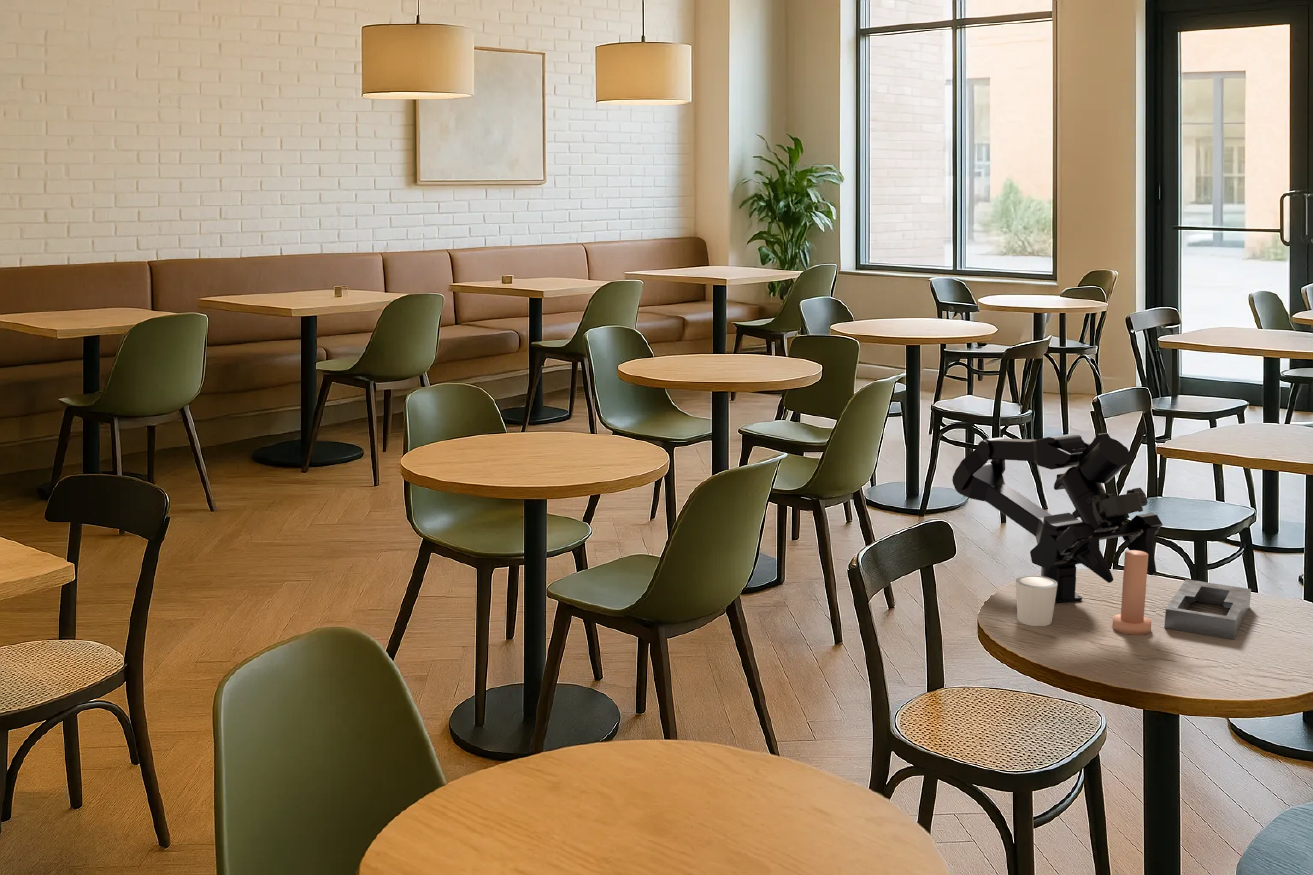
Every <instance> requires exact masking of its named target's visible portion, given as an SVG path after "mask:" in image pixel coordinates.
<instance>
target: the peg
mask: <svg viewBox="0 0 1313 875" xmlns="http://www.w3.org/2000/svg"><path fill="white" fill-rule="evenodd" d="M1123 561H1124V564H1123V578H1122V592H1121V607H1120V613H1119V614H1115V615H1114V616H1113V617H1112V624H1111V625H1112V626H1111V627H1112V629H1113V630H1114V631H1116V632H1118V633H1121V634H1125V635H1132V636H1140V635H1147V634H1148V635H1149V633H1151V631H1152V620H1151V619H1150V618H1149V617H1146V616H1145V607H1146V592H1147V581H1148V580H1147V578H1148V572H1147V566H1148V553H1146V552H1143V551H1137V550H1129V549H1128V550H1126V551H1124V560H1123Z"/></svg>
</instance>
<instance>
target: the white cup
mask: <svg viewBox="0 0 1313 875" xmlns="http://www.w3.org/2000/svg"><path fill="white" fill-rule="evenodd" d="M1057 585H1058V584H1057V581H1055V580H1054V579H1051V578H1048V577H1043V576H1041V575H1022V576H1018V577H1016V578H1015V592H1016V593H1015V594H1016V595H1015V596H1016V616H1017V621H1018V622H1019V623H1021V624H1024V625H1027V626H1032V627H1033V626H1034V627H1046V626H1049V625H1051V624H1052V622H1053V618H1054V617H1053V616H1054V611H1055V610H1054V609H1055V604H1056V602H1055V598H1056V591H1057Z"/></svg>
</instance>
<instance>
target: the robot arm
mask: <svg viewBox="0 0 1313 875" xmlns="http://www.w3.org/2000/svg"><path fill="white" fill-rule="evenodd" d="M988 461H990V462H988ZM1006 461H1020V462H1021V461H1023V462H1033V463H1035V464H1036V465H1037V466H1038V467H1042V468H1043V469H1044V468H1045V469H1048V470H1058V469H1059V470H1060V469H1066V468H1068V469H1067V470H1066V471H1064V473H1059V474H1057V475H1056V479H1055V482H1054V483H1053V489H1054V490H1055V491H1059V490H1064V491H1065V492H1066V494H1067V496H1068V498H1069V499H1070V501H1071V503H1072V505H1073V507H1074V508H1075V509H1074V510H1073V512H1072V513H1070V512H1063V513H1058V514H1051V513H1050V512H1048V511H1047V510H1045V509H1044V508H1042V507H1041V506H1039V505H1038V504H1037V503H1035V502H1033V501H1032V500H1031V499H1029V498H1027V497H1026V496H1024V495H1022V494H1021V493H1020V492H1019V491H1017V490H1016V489H1014V488H1012V487H1011V486H1009V485H1008V484H1007V483H1005V479H1004V478H1005V477H1004V475H1003V474H1004V473H1005V471H1006ZM1130 462H1131V453H1130V451H1129V449H1128V447H1127V446H1125V445H1124V444H1123V443H1121V442H1120V441H1118V440H1117V439H1114V438H1112V437H1111V436H1110V434H1109V433H1108V432H1105V433H1104V432H1103V433H1098V434H1097V435H1095V437H1094V438H1093V440H1092V442H1091V443H1089V442H1087V441H1085V440H1083V437H1082V435H1080V434H1076V433H1072V434H1063V435H1055V436H1047V437H1043V438H1038V439H1030V438H1029V439H1028V438H1027V439H1025V438H1023V439H1022V438H1021V439H1020V438H1004V437H1002V436H1001V437H992V438H984V439H982V440H980V441H979V443H977V445H976V447H975V448H974V450H972V451H971V452H970V453H969V454H968V455H966V456H965V457H964V458H963V459H961V461H960V463H959V464H958V466H957V467H956V469H955V470H954V473H953V475H952V479H951V480H952V486H953V487H954V489H955V491H956V492H957V493H958V494H959V495H961V496H964V497H966V498H968V499H970V500H976V501H981V502H986V503H987V504H989V505H990V506H992V507H993V508H995V509H996V510H997V511H999V512H1001V514H1003V515H1004V516H1005V517H1007V518H1009V519H1010V520H1011V521H1013V522H1015V523H1016V524H1017V525H1019V526H1020V527H1022V528H1023V529H1025V531H1026V532H1027V531H1028V533H1030V534H1031V535H1032V536H1034V537H1035V540H1036V545H1035V546H1034V547H1033V548H1031V550H1030V552H1029V554H1030V559H1031V563H1032V564H1034V565H1036V566H1038V567H1041V568H1040V576H1043V577H1048V578H1051V579H1054V580H1055V581H1057V584H1058V585H1057V591H1056V598H1055V603H1062V602H1063V603H1064V602H1072V601H1074V602H1075V601H1082V600H1083V596H1082V595H1080V594H1078V593H1077V592H1076V588H1077V585H1076V583H1077V567H1076V565H1080V564H1081V565H1083V566H1085V567H1086V568H1087V569H1089V570H1090V571H1091V572H1092V573H1094V574H1096V575H1097V576H1098V577H1100V578H1101V579H1102V580H1104V581H1105V582H1107V583H1109V584H1111V583H1112V582H1113V581H1114V577H1113V573H1112V572H1111V570H1110V568H1109V565H1108V564H1107V562H1106V559H1105V558H1104V556H1103V553H1102V551H1101V549H1100V541H1101V540H1109V539H1114V538H1121V537H1122V540H1123V541H1125V542H1126V543H1128V545H1127V546H1126V548H1127V549H1128V551H1129V550H1137V551H1143V552H1146V553H1148V566H1147V574H1148V573H1149V575H1151V576H1154V575H1156V574H1157V566H1156V561H1155V560H1156V559H1155V555H1154V554H1155V553H1154V543H1153V542H1154V538H1155V535H1156V534H1158V532H1159V529H1161V527H1163V526H1164V524H1163V523H1162V521H1161V519H1160V518H1159V516H1158V514H1156V513H1154V512H1149V513H1142V514H1136V515H1135V516H1134V517H1132V518H1131V519H1130V521H1128V519H1129V518H1130V515H1129V514H1133V513H1136V512H1139V513H1140V512H1144V508H1143V507H1144V506H1145V507H1146V506H1147V505H1148V502H1149V501H1148V498H1147V494H1146V493H1145V491H1144V490H1143V489H1142V488H1141V487H1134V488H1132V489H1127V490H1126V493H1124V494H1119V495H1116V494H1115V493H1113V492H1108V493H1107V492H1106V490H1105V488H1104V486H1103V484H1107V483H1109V482H1110V481H1111V480H1112V479H1113V478H1115V476H1117V474H1119V472H1120V471H1122V470H1123V469H1125V467H1126V466H1127V465H1128V464H1129V463H1130ZM1078 518H1080V519H1078ZM1124 521H1128V522H1127V523H1125V524H1124V523H1123V522H1124Z"/></svg>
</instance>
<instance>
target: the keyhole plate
mask: <svg viewBox="0 0 1313 875" xmlns="http://www.w3.org/2000/svg"><path fill="white" fill-rule="evenodd" d="M1251 595H1252V589H1251V588H1247V587H1246V588H1245V587H1240V586H1234V585H1226V584H1219V583H1214V582H1213V583H1212V582H1206V581H1200V580H1193V579H1185V580H1184V581H1183V583H1182V584H1181V586H1180V588H1179V589H1178V590H1177V591H1176V593H1175V594H1174V596H1173V598H1172V599H1171V601H1170V602H1169V603H1168V605H1167V606H1166V608H1165V613H1164V614H1165V616H1164V629H1170V630H1177V631H1181V632H1186V633H1187V632H1188V633H1193V634H1199V635H1205V636H1210V637H1215V638H1216V637H1217V638H1221V637H1222V638H1223V639H1228V640H1234V639H1235V638H1236V636H1237V634H1238V632H1239V630H1240V628H1241V626H1242V624H1243V621H1244V620H1245V617H1246V615H1247V613H1248V611H1249V609H1250V606H1251V598H1252V597H1251ZM1195 602H1200V603H1205V604H1211V605H1216V606H1223V608H1227V609H1229V610H1228V611H1227V614H1226V615H1221V614H1214V613H1210V612H1209V613H1208V612H1202V611H1196V610H1191V609H1190V610H1189V609H1188V608H1189V606H1190V604H1192V603H1195Z"/></svg>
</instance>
